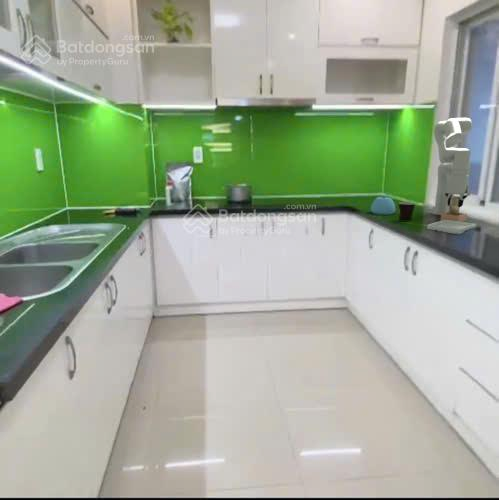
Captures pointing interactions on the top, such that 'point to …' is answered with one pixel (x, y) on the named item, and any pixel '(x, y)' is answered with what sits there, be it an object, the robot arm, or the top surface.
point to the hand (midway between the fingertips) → (454, 205)
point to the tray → (451, 226)
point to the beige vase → (454, 205)
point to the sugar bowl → (383, 206)
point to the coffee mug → (406, 211)
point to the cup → (453, 217)
